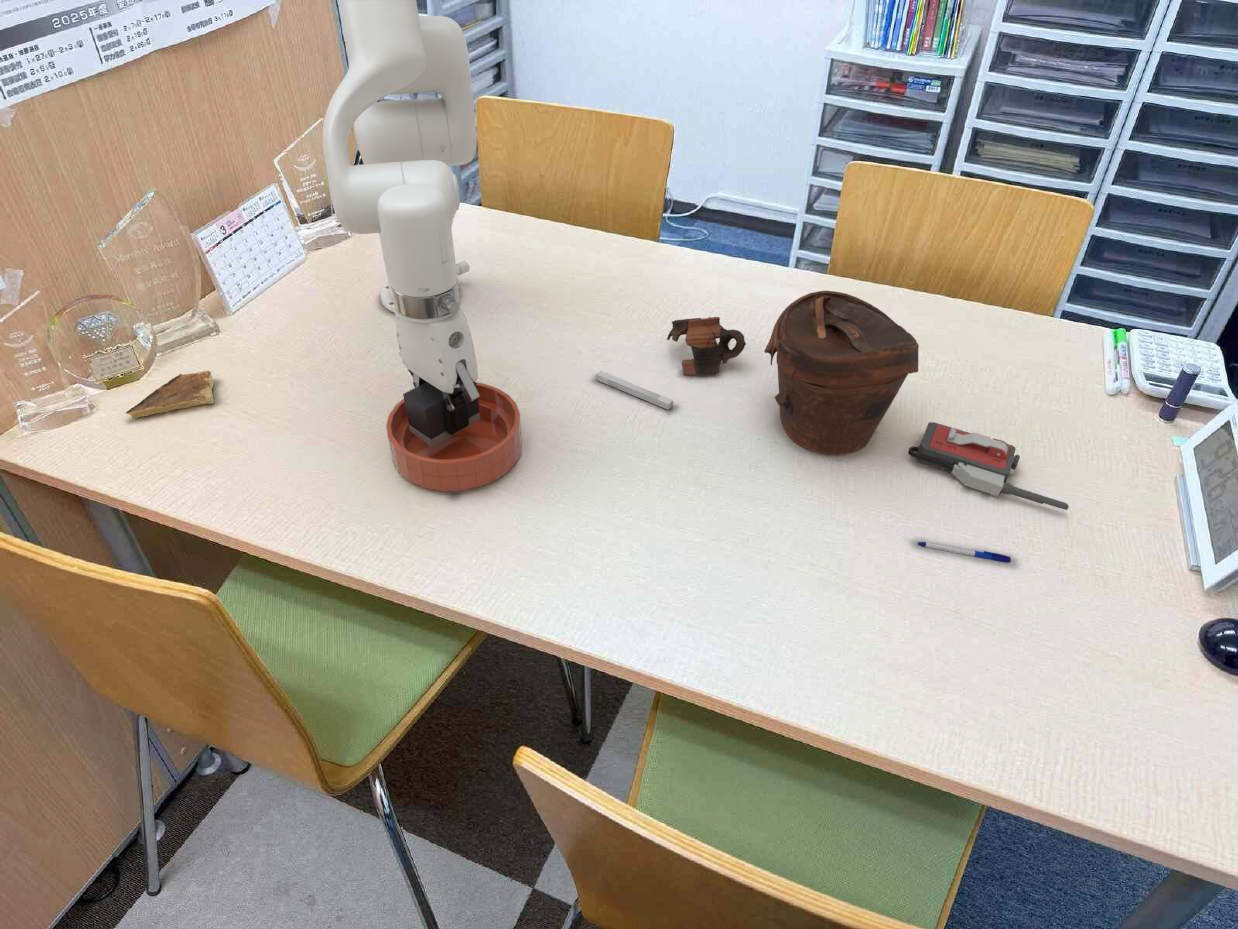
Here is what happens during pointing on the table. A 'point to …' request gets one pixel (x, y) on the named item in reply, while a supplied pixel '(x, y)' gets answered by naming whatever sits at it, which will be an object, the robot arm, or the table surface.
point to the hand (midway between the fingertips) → (445, 419)
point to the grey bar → (635, 390)
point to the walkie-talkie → (974, 461)
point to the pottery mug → (706, 344)
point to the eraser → (432, 413)
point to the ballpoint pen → (967, 552)
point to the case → (838, 369)
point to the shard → (177, 395)
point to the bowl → (460, 446)
